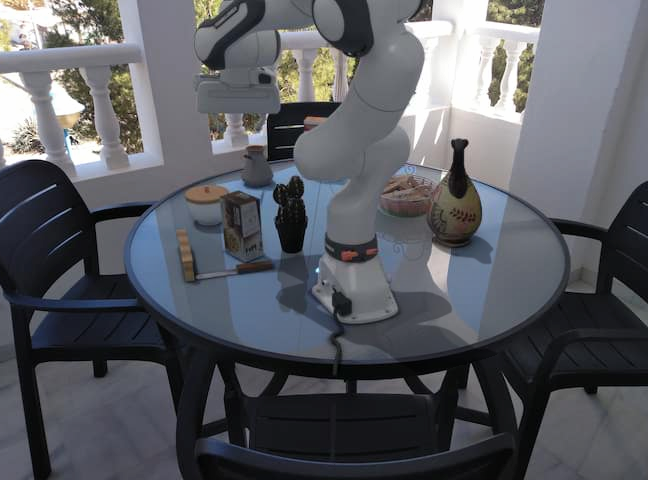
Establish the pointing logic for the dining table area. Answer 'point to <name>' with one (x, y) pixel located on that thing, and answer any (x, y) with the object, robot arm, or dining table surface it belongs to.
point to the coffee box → (241, 225)
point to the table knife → (240, 269)
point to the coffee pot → (256, 167)
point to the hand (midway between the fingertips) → (239, 130)
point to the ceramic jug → (455, 203)
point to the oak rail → (186, 254)
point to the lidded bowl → (205, 203)
